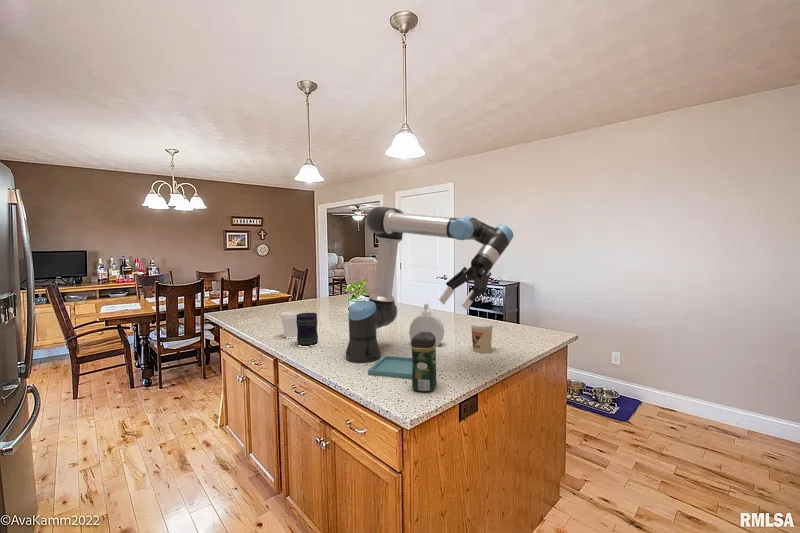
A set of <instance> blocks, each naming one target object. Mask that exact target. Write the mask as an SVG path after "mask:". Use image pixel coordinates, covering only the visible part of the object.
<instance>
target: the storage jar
mask: <svg viewBox="0 0 800 533" xmlns="http://www.w3.org/2000/svg"><path fill="white" fill-rule="evenodd" d="M317 315H318V313H316V312H302V313H300V314H297V315H296V317H297V320H296V323H297V331H298V334H297V338H296V341H297V346H298V345H301V346H310V345H315V344H317V343H318V344H319V336H318V335H319V333H318V316H317Z"/></svg>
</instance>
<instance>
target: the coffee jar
mask: <svg viewBox="0 0 800 533" xmlns="http://www.w3.org/2000/svg"><path fill="white" fill-rule="evenodd" d="M410 341H411V342H410V344H411V347H410V348H411V358H412V379H411V386H412V390H414V391H416V392H420V393H426V392H432V391H433V390H435V388H436V386H437V358H436V356H437V354H436V352H437V347H436V338H435V335H434V334H432V333H431V332H420V333H418V334H416V335H415V336H414V337H413V338H412V339H410Z"/></svg>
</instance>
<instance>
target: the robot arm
mask: <svg viewBox="0 0 800 533" xmlns="http://www.w3.org/2000/svg"><path fill="white" fill-rule="evenodd" d="M365 219H366V220H365V221H366V225H367V228H368V230H369V231H371V232H372V233H374V234H376V235H375V237H376V239H377V240H378V248H377V256H376V257H377V258H376V264H375V275H374V283H373V284H374V285H373V291H372V294H370V295H369V299H368V300H362V301H357V302H354V303H352V304H351V305H349V307H348V314H347V316H348V332H349V334H348V336H349V338H348V339H349V340H348V344H347V348H346V350H345V360H346V361H349V362H350V363H351V362H352V363H360V364H361V363H371V362H374V361H379V360H380V359H381V358H382V351H381V348H380V344H379V342H378V339H377V329H380V328H382V327H386V326H389V325H390V324H392V323H393V322H394V321H395V320H396V319H397V316H398V307H397V305H396V303H395V300H396V299H395V297H394V296H393V289H394V288H393V287H394V280H395V271H396V266H397V265H396V264H397V255H398V247H399V243H400V242H401V241H402V240H403V235H404V234H412V235H420V236H421V235H422V236H428V237H438V238H448V239H452V240H453V239H455V240H458V241H466V240H473V241H475V242H477V243H480V244H481V245H482V246H481V247H480V248H479V249H478V251H477V252H476V254H475V255H474V257H473V258H472V260H471V261H470V267H468V268H467V267H466V266H464V267H463V268H461V270H460V271H459V272H457V273H456V274H455V275H454V276H453V277H452V278H451V279H450V280H448V281H447V282H446V283H445V285H446V286H447V288H446V289H445V290H444V292H443V293H442V295H440V298H438V300H439V301H440V303H441V304H442V305H445V304H446V303H447V301H448V300H449V299H450V297H451V296H452V295H453V293H454V292H455V290H456V288H458V287H460V286H461V285H464V283H466V282H470V281H471V282H472V281H473V289H471V290H470V292H468V295H467V296H466V297H465V298H464V300H463V301H462V302H461V306H462V307H463V308H464V309H465V310H466V311H468V310H469V308H470V307H471V306H472V304H473V302H474V301H475V300H476V299H477V298H478V297H479V296H480V295H481V294H482V295H484V294H486V291H487V288H488V284H489V280H490V277H491V275H492V272H491V270H492V269H493V267H494V265H495V264H496V262H497V261H498V260H499V259H500V257H501V255H502V254H503V253H504V252H505V250H506V249H507V248H508V246H509V245H510V243H511V241H512V240H513V238H514V231H513V230H512V229H511V228H510V227H509V226H507V225H505V224H498V225H497V226H496V227H493V226H492V225H489V224H487V223H484V222H483V221H481V220H478V218H475V217H472V216H471V215H467V216H466V217H448V216H440V215H439V216H437V215H427V214H425V215H424V214H415V213H414V214H413V213H405V212H404V211H403V210H402V209H398V208H396V207H385V206H376V207H373V208H372V209H371V210H369V212H367V214H366V218H365Z"/></svg>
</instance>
